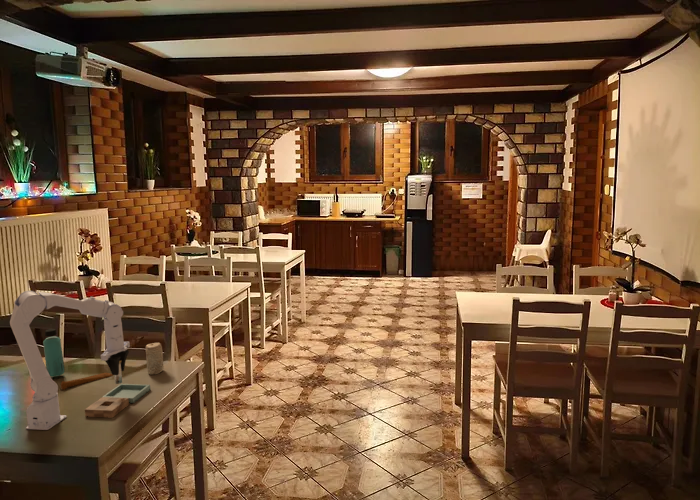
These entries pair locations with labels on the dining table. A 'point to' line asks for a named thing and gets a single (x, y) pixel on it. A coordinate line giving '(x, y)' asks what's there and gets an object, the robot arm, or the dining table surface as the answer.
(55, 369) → the beverage bottle
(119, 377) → the pin
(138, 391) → the tray
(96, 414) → the socket block
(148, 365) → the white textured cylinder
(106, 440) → the dining table surface
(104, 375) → the primitive tool
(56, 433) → the dining table surface
